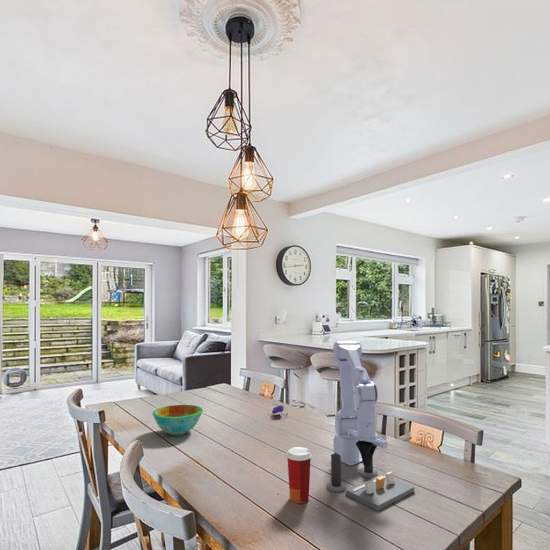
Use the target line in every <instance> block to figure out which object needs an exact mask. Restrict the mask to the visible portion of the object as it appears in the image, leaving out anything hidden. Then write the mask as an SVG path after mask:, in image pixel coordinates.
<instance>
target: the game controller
mask: <svg viewBox="0 0 550 550" xmlns="http://www.w3.org/2000/svg"><path fill="white" fill-rule="evenodd" d="M273 405H276V406H275V407H272V411H271V414H273V415H274V414H275V415H276V414H277V416H279V415H280V414H283V412H284V410H285V411H286V412H287V413H286V412H285V413H286V415H285V417H286V416H287V417H288V414H289V413H288V411H287V408H286V407H284V406H283V405H282V404H281V405H279V404H276V403H274V404H272V406H273ZM267 414H268V415H270V413H269V412H268V413H267Z"/></svg>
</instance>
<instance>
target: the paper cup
mask: <svg viewBox="0 0 550 550" xmlns="http://www.w3.org/2000/svg"><path fill="white" fill-rule="evenodd" d="M285 456H286V458H287V470H288V471H287V473H288V487H289V499H290V500H289V501H291V502H292V503H294V504H298V503H301V504H305V503H307V502H309V497H310V479H311V477H310V476H311V475H310V474H311V458H312V454H311V451H310V449H308V448H307V447H302V446H296V447H290V448H289V449H288V451H286V453H285Z"/></svg>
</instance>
